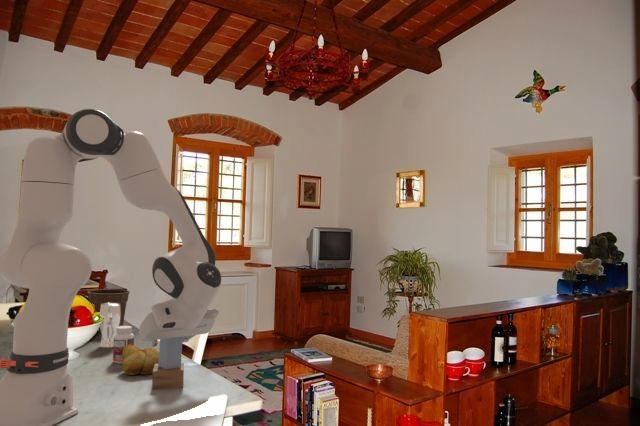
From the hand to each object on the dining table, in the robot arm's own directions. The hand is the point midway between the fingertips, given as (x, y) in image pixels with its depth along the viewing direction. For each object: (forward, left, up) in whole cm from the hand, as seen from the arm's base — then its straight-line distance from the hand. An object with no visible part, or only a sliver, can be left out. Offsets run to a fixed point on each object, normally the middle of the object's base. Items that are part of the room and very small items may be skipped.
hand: (168, 342), depth 144 cm
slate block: (0, -1, -7) cm, 7 cm away
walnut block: (0, 0, -12) cm, 12 cm away
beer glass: (+41, +36, -12) cm, 55 cm away
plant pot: (+67, +48, -12) cm, 83 cm away
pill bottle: (+21, +22, -12) cm, 32 cm away
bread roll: (+10, +11, -12) cm, 19 cm away
